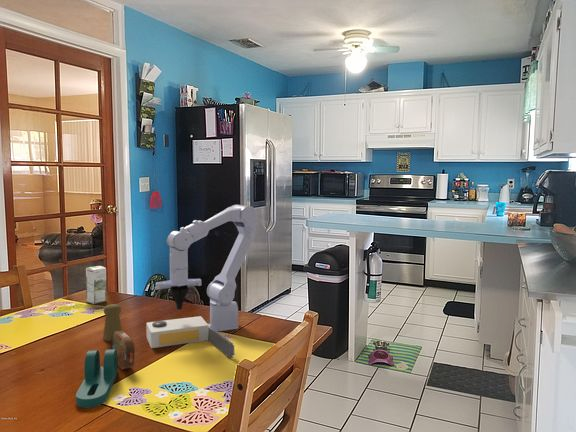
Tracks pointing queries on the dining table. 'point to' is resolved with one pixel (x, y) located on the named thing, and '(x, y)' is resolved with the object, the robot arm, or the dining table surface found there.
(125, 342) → the brown rounded piece
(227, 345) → the side door
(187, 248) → the robot arm
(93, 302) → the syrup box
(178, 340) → the camera housing
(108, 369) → the bracket
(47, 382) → the dining table surface
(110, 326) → the olive flared pepper mill
